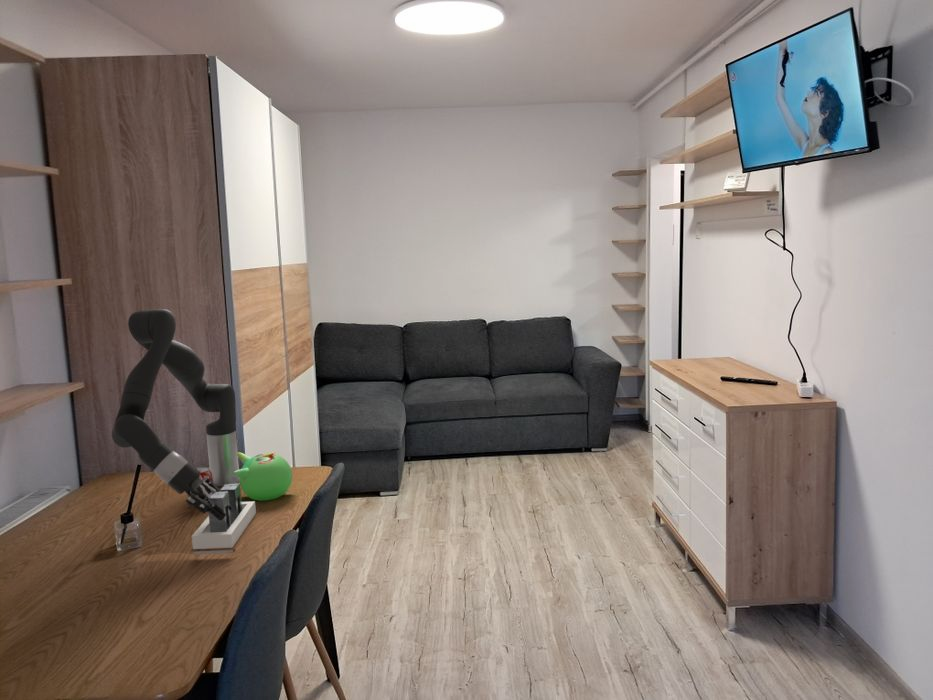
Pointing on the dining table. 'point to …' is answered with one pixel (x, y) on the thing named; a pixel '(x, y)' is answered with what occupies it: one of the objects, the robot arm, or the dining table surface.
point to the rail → (223, 539)
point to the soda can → (205, 473)
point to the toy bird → (264, 476)
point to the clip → (223, 503)
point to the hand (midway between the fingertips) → (226, 513)
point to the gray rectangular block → (234, 499)
